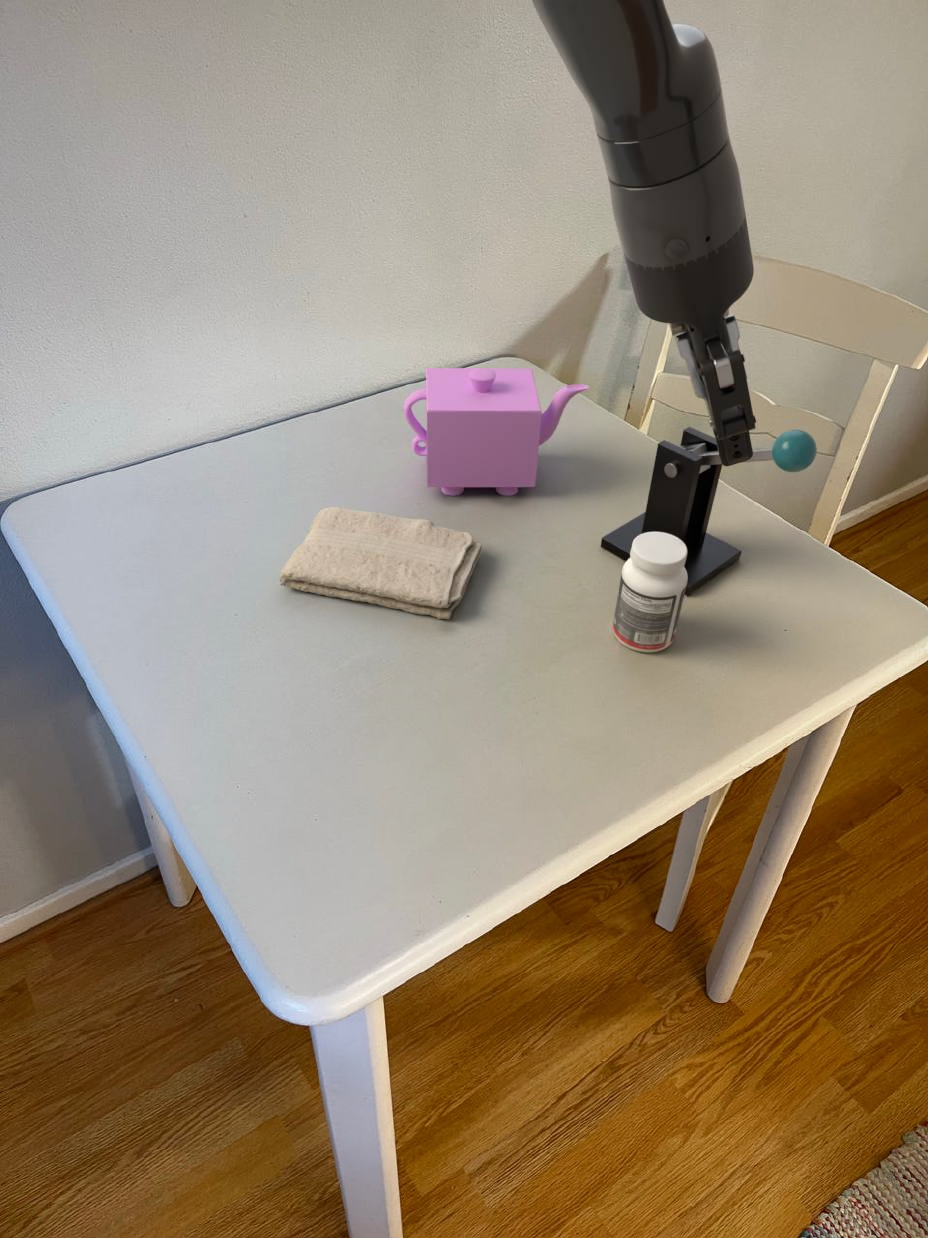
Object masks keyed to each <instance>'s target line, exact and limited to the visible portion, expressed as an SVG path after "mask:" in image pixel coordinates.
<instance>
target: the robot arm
mask: <svg viewBox="0 0 928 1238" xmlns="http://www.w3.org/2000/svg"><path fill="white" fill-rule="evenodd" d="M531 2H532V5H533V6H534V9H535V11H536V13H537V15H538V18H539V19H540V21H541V23H542V25H543V27H544V30H545V31H546V32H547V34H548V36H549V38H550V40H551V42H552V43H553V45H554V47H555V49H556V51H557V53H558V55H559V56H560V58H561V60H562V62H563V63H564V65H565V67H566V69H567V72H568V73H569V75H570V77H571V79H572V80H573V82H574V84H575V85H576V87H577V88H578V90H579V91H580V93H581V95H582V97H583V98H584V100H585V102H586V103H587V105H588V106H589V108H590V111H591V115H592V121H593V124H594V125H593V126H594V129H595V132H596V137H597V140H598V145H599V148H600V152H601V155H602V160H603V163H604V167H605V171H606V174H607V175H606V176H607V179H608V184H609V191H610V199H611V207H612V214H613V218H614V222H615V223H614V224H615V226H616V230H617V234H618V238H619V242H620V246H621V249H622V253H623V257H624V260H625V264H626V267H627V270H628V275H629V279H630V283H631V286H632V290H633V295H634V298H635V302H636V305H637V307H638V309H639V310H640V312H641V313H642V314H643V315H644V316H646V317H647V318H649V319H650V320H653V321H656V322H658V323H663V324H668V325H669V328H670V332H671V336H672V337H673V338H674V341H675V344H676V347H677V351H678V354H679V356H680V358H681V359H682V360H684V362H685V364H686V368H687V372H688V375H689V379H690V382H691V387H692V389H693V394H694V395H695V396H696V397H697V398H698V399H703V401H704V403H705V407H706V410H707V413H708V417H709V419H707V421H708V426H709V427H710V428H712V432H713V436H714V438H715V439H716V443H717V448H718V453H719V457H720V460H721V462H722V466H724V467H731V466H734V465H737V464H741V462H742V463H745V462H744V461H747V460H749V459H751V458H752V456H753V450H752V448H753V445H752V440H751V434H750V431H753V430H756V423H757V418H756V415H754V412H753V405H752V400H751V395H750V390H749V385H748V375H747V374H748V373H747V371H746V367H745V362H746V359H745V356H744V353H742V351H741V349H740V346H739V339H740V337H741V334H740V329H739V325H738V321H737V319H736V316H735V314H734V313H732V314H730V308H731V307H732V306H733V305H734V304H735V303H736V302H737V301H738V300H739V299H741V298H742V297H743V295H745V293H746V292H747V290H749V287H750V286H751V284H752V281H753V279H754V272H755V267H754V260H753V254H752V248H751V240H750V234H749V229H748V221H747V215H746V214H747V213H746V209H745V208H746V207H745V201H744V195H743V188H742V182H741V181H742V180H741V176H740V170H739V165H738V163H737V158H736V155H735V153H734V150H733V146H732V143H731V138H730V134H729V127H728V121H727V114H726V108H725V102H724V101H725V100H724V95H723V94H724V93H723V89H722V82H721V77H720V72H719V65H718V61H717V56H716V53H715V50H714V47H713V45H712V43H711V41H710V40H709V38H708V36H707V35H706V34H705V33H704V32H703V31H702V30H701V29H699V28H698V27H696V26H694V25H693V26H692V25H690V24H685V23H672V21H671V19H670V16H669V14H668V11H667V8H666V5H665V1H664V0H531Z"/></svg>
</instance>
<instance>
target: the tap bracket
mask: <svg viewBox="0 0 928 1238" xmlns="http://www.w3.org/2000/svg"><path fill="white" fill-rule="evenodd" d="M701 443H705V444H706V448H707V452H711V451H718V448H717V443H716V439H715V436H711V435H710V434H707V433H705V432H702V431H700V430H698V429H695V428H693V427H691V426H688V427H686V428H684V429H683V431H682V435H681V440H680V445H679V446H678V445H676V444H674V443H671V442H670V441H667V440H664V439H663V440H662V441H660V442H658V443H657V446H656V447H657V448H656V453H655V459H654V464H653V469H652V474H651V480H650V485H649V490H648V496H647V500H646V501H647V502H646V507H645V512H643V513H641V514H639V515H638V516H636V517H635V518H633V519H631V520H629V521H627V522H626V523H624V524H623V525H621V526H619V527H618V528H616V529H614V530H612V531H611V532H609V533H607V534H606V535H604V536H602V537H601V541H600V548H601V549H603V550H604V551H607V552H609V553H610V554H611V555H614V556H615V557H617V558H619V559H621V560H622V561H624V562H626V561H627V560H628V559H629V558H630V551H631V548H632V543H633V541H634V539H635V538H636V537H637V536H639V535H640V534H643V533H647V532H663V533H668V534H671V535H673V536H675V537H677V538H679V539H680V540H681V541H683V543H684V544H685V545H686V547H687V557H686V561H685V565H684V567H685V569H686V571H687V576H688V580H687V586H686V590H685V595H684V596H686V597H689V596H690V595H692V594H693V593H695V592H696V591H697V590H699V589H700V588H701V587H703V586H704V585H706V584H707V583H708V582H709V583H710V581H712V580H713V579H715V578H716V577H718V576H719V575H720V574H722V573H723V572H724V571H726V570H727V569H729V568H730V567H732V566H733V565H735V564H736V563H737V562H738V561H740V559H741V555H742V550H741V549H740V548H737V547H735V546H733V545H732V544H729V542H728V543H727V542H726V541H724V540H722V539H720V538H718V537H716V536H714V535H712V534H710V533H708V532H707V530H708V526H709V523H710V518H711V513H712V510H713V506H714V502H715V497H716V494H717V489H718V484H719V481H720V476H721V471H722V468H723V465H722V464H717V465H710V466H711V467H710V468H708V469H707V470H705V471H703V472H702V473H700V474H699V472H700V468H701V463H702V459H703V458H702V457H700V456H698V455H696V454H693V453H691V452H689V451H687V450H685V449H683V448H680V446H682V445H691V444H701Z"/></svg>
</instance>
